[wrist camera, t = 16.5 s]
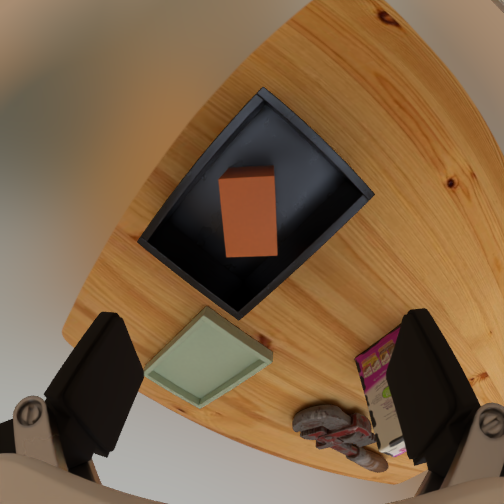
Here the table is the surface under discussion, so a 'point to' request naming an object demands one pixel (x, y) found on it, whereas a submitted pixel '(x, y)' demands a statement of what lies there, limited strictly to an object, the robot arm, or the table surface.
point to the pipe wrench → (340, 434)
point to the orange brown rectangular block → (249, 211)
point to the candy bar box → (381, 394)
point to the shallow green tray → (207, 359)
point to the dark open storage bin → (287, 205)
